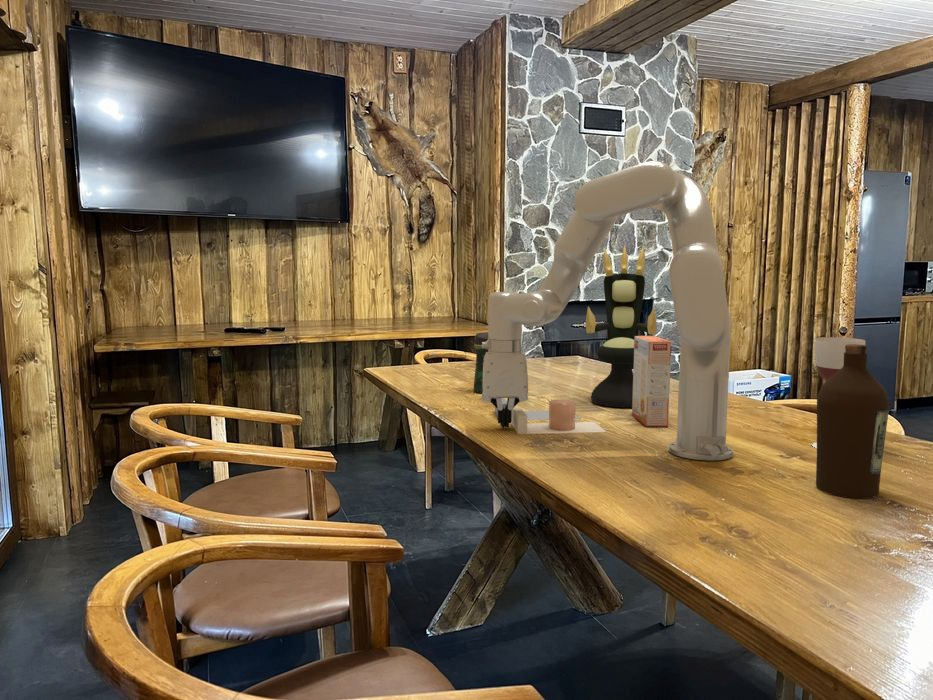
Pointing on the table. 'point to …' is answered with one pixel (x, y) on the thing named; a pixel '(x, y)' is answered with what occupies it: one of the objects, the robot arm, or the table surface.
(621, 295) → the black throne chair
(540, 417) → the grey blocky piece
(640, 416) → the cracker box
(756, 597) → the table surface
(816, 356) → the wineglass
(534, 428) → the strip
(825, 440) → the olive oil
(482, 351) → the coffee jar
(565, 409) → the canister
